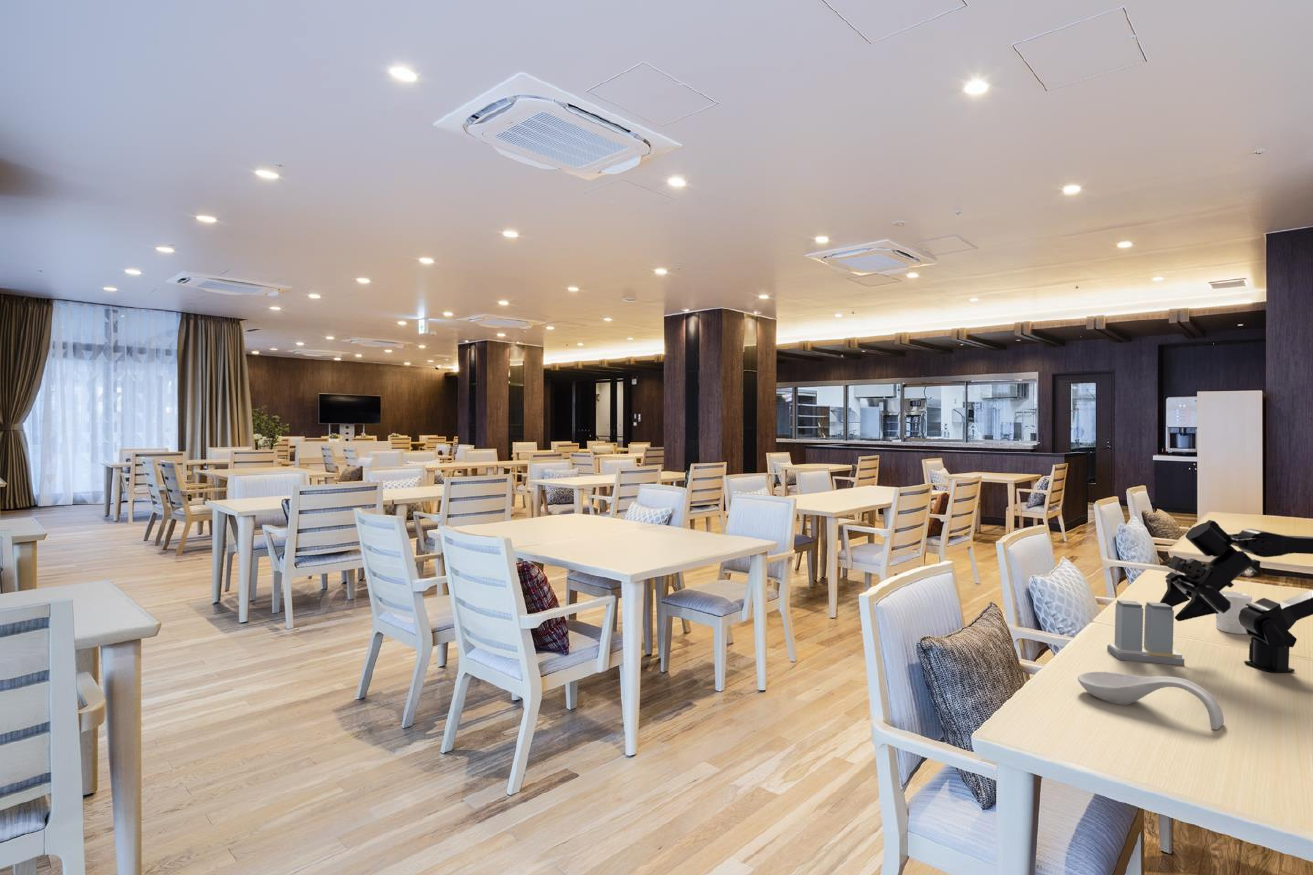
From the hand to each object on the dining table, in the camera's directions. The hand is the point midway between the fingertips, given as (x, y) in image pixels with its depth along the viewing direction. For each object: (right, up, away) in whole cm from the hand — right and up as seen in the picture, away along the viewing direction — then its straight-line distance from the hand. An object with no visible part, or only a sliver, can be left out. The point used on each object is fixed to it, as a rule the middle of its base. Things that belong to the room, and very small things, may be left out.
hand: (1167, 614), depth 166 cm
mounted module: (-8, -9, +2) cm, 12 cm away
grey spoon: (-25, -11, -29) cm, 40 cm away
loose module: (-2, -9, +1) cm, 9 cm away
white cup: (+36, -11, +26) cm, 46 cm away
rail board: (-5, -11, +1) cm, 12 cm away
